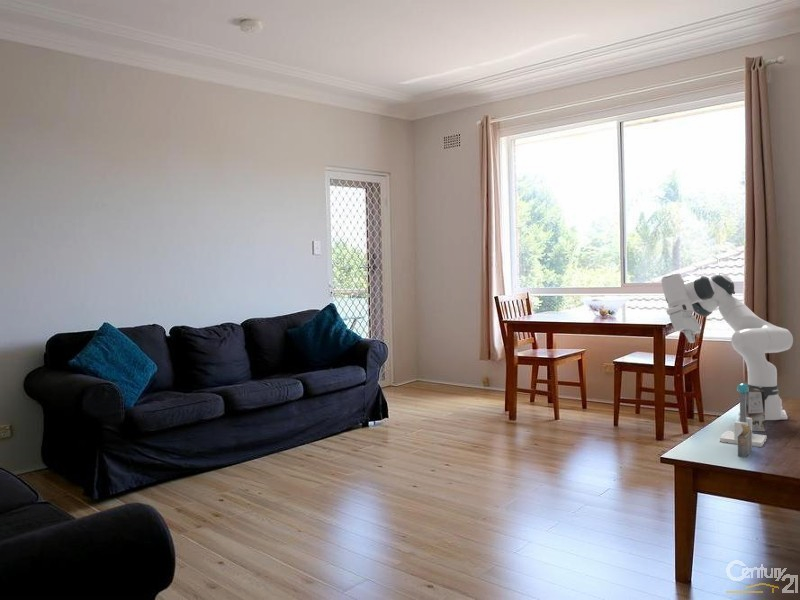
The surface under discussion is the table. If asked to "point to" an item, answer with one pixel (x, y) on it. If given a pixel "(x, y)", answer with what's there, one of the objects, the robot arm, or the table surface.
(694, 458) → the table surface
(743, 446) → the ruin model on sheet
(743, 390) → the lever
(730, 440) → the lever stand
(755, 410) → the coffee box
